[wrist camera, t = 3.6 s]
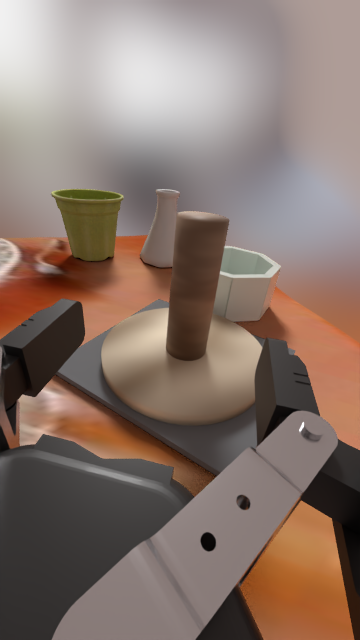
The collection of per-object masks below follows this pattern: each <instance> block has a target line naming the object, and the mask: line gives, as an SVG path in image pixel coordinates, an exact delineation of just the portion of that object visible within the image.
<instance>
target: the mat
mask: <svg viewBox="0 0 360 640" xmlns="http://www.w3.org/2000/svg"><path fill="white" fill-rule="evenodd" d="M160 308H169V303H168V302H165V301H163V300H160V299H158V300H156V301H155V302H153V303H151V304H150V305H148V306H146V307H145V308H143V309H142V310H140V311H138V312H137V313H141V312H144V311H148V310H153V309H160ZM137 313H135V314H137ZM135 314H133V315H135ZM133 315H132V316H133ZM115 326H116V325H115ZM115 326H114V327H115ZM114 327H112V328H110V329H109V330H107V331H105V332H104V333H102V334H100V335H99V336H97V337H95V338H94V339H92V340H91V341H89V342H87V343H86V344H84V345H82V346H81V347H79V348H78V349H77V350H76V351H75V352H74V353H73V354H72V356H71V357H70V358H69V359H68V360H67V361H66V362H65V364H64V365H63V366H62V367H61V368H60V369H59V370H58V372H57V373H56V375H57V376H59V377H60V378H62V379H64V380H65V381H67V382H68V383H70V384H71V385H73V386H75V387H76V388H78V389H79V390H81V391H83V392H84V393H86V394H87V395H89V396H91V397H92V398H94V399H95V400H97V401H98V402H100V403H102V404H103V405H105V406H106V407H108V408H110V409H111V410H113V411H114V412H116V413H117V414H119V415H121V416H122V417H124V418H125V419H127V420H129V421H130V422H132V423H133V424H135V425H136V426H138V427H140V428H141V429H143V430H144V431H146V432H148V433H149V434H151V435H152V436H154V437H156V438H157V439H159V440H160V441H162V442H163V443H165V444H167V445H168V446H170V447H171V448H173V449H175V450H176V451H178V452H179V453H181V454H182V455H184V456H186V457H187V458H189V459H190V460H192V461H194V462H195V463H197V464H198V465H200V466H202V467H203V468H205V469H206V470H208V471H209V472H211V473H213V474H214V475H216V476H218V475H219V474H220V473H221V472H222V471H223V470H224V469H225V468H226V467H227V466H228V465H230V464H231V463H232V462H233V461H234V460H235V459H236V458H237V457H238V456H239V455H240V454H241V453H242V452H243V451H244V450H246V449H247V448H249V447H253V448H254V449H255V448H256V446H257V430H256V406H255V403H254V404H253V406H252V407H250V408H249V409H248V410H246V411H245V412H244V413H242V414H240V415H238V416H236V417H235V418H232V419H229V420H226V421H224V422H220V423H215V424H210V425H199V426H191V425H178V424H170V423H166V422H162V421H158V420H155V419H152V418H150V417H147V416H144V415H142V414H141V413H139V412H137V411H135V410H133V409H131V408H130V407H129V406H127V405H126V404H124V403H123V402H122V401H121V400H120V399H119V398H118V397H117V396H115V394H114V393H113V392H112V390H111V389H110V388H109V386H108V384H107V382H106V380H105V378H104V375H103V370H102V359H101V351H102V345H103V342H104V340H105V338H106V336H107V335H108V333H109V332H110V331H111V330H112V329H113V328H114ZM251 335H252V336H254V337H255V339H256V340H257V341H258V342H259V343H260V345H261V346H262V348H263V345H264V342H265V339H263V338H261V337H258V336H255V335H253V334H251ZM288 351H289V354H290V355H294V353H295V350H292V349H290V348H288Z"/></svg>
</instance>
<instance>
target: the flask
mask: <svg viewBox="0 0 360 640" xmlns="http://www.w3.org/2000/svg"><path fill="white" fill-rule="evenodd" d="M156 194H157V195H158V201H157V209H156V214H155V218H154V221H153V224H152V226H151V229H150V232H149V234H148V237H147V239H146V241H145V244H144V246H143V248H142V251H141V253H140V257H141V259H142V260H143V262H145V263H148V264H151V265H154V266H156V267H172V265H173V253H174V240H175V228H176V216H177V199H178V197H179V196H180V192H177V191H174V190H166V189H165V190H163V189H160V190H156Z"/></svg>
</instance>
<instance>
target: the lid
mask: <svg viewBox="0 0 360 640" xmlns="http://www.w3.org/2000/svg"><path fill="white" fill-rule="evenodd" d="M228 225H229V219H228V218H226V217H224V216H221V215H217V214H212V213H205V212H195V211H186V212H179V213H177V216H176V228H175V240H174V253H173V265H172V277H171V289H170V301H169V308H160V309H153V310H148V311H144V312H141V313H137V314H135V315H133V316H130V317H128V318H126V319H124V320H123V321H121V322H120V323H118V324H117V325H116V326H115V327H114V328H113V329H112V330H111V331H110V332H109V333H108V335H107V336H106V338H105V340H104V342H103V345H102V351H101V359H102V370H103V375H104V378H105V380H106V382H107V384H108V386H109V388H110V389H111V390H112V392H113V393H114V394H115V396H117V397H118V398H119V399H120V400H121V401H122V402H123V403H124V404H126V405H127V406H129V407H130V408H131V409H133V410H135V411H137V412H139V413H141V414H142V415H144V416H147V417H150V418H152V419H155V420H158V421H162V422H166V423H170V424H178V425H191V426H199V425H210V424H215V423H220V422H224V421H226V420H229V419H232V418H235V417H236V416H238V415H240V414H242V413H244V412H245V411H246V410H248V409H249V408H250V407H252V406H253V404H254V403H255V383H254V379H255V371H256V367H257V364H258V360H259V357H260V354H261V351H262V346H261V345H260V343H259V342H258V341H257V340H256V339H255V337H254V336H252V335H251V334H250V333H249V332H248V331H247V330H245V329H244V328H243V327H241V326H239V325H238V324H236V323H234V322H232V321H230V320H228V319H226V318H224V317H221V316H219V315H216V314H213V308H214V302H215V297H216V291H217V286H218V280H219V275H220V269H221V264H222V258H223V252H224V247H225V241H226V235H227V230H228Z"/></svg>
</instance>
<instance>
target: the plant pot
mask: <svg viewBox="0 0 360 640" xmlns="http://www.w3.org/2000/svg"><path fill="white" fill-rule="evenodd" d="M51 194H52V196H53V197H54V198H55V199H56V203H57V206H58V208H59V209H60V211H61V214H62V218H63V221H64V225H65V229H66V232H67V236H68V240H69V243H70V247H71V251H72V255H73V256H74V257H75V258H77V257H79V258H81V259H82V260H85V261H102V260H105V259H106V258H107V257H113V255H114V248H115V238H116V227H117V216H118V211H119V210H120V204H121V201H122V200H123V195H121V194H118V193H115V192H109V191H101V190H91V189H89V190H88V189H65V190H57V191H53V192H52V193H51Z"/></svg>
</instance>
